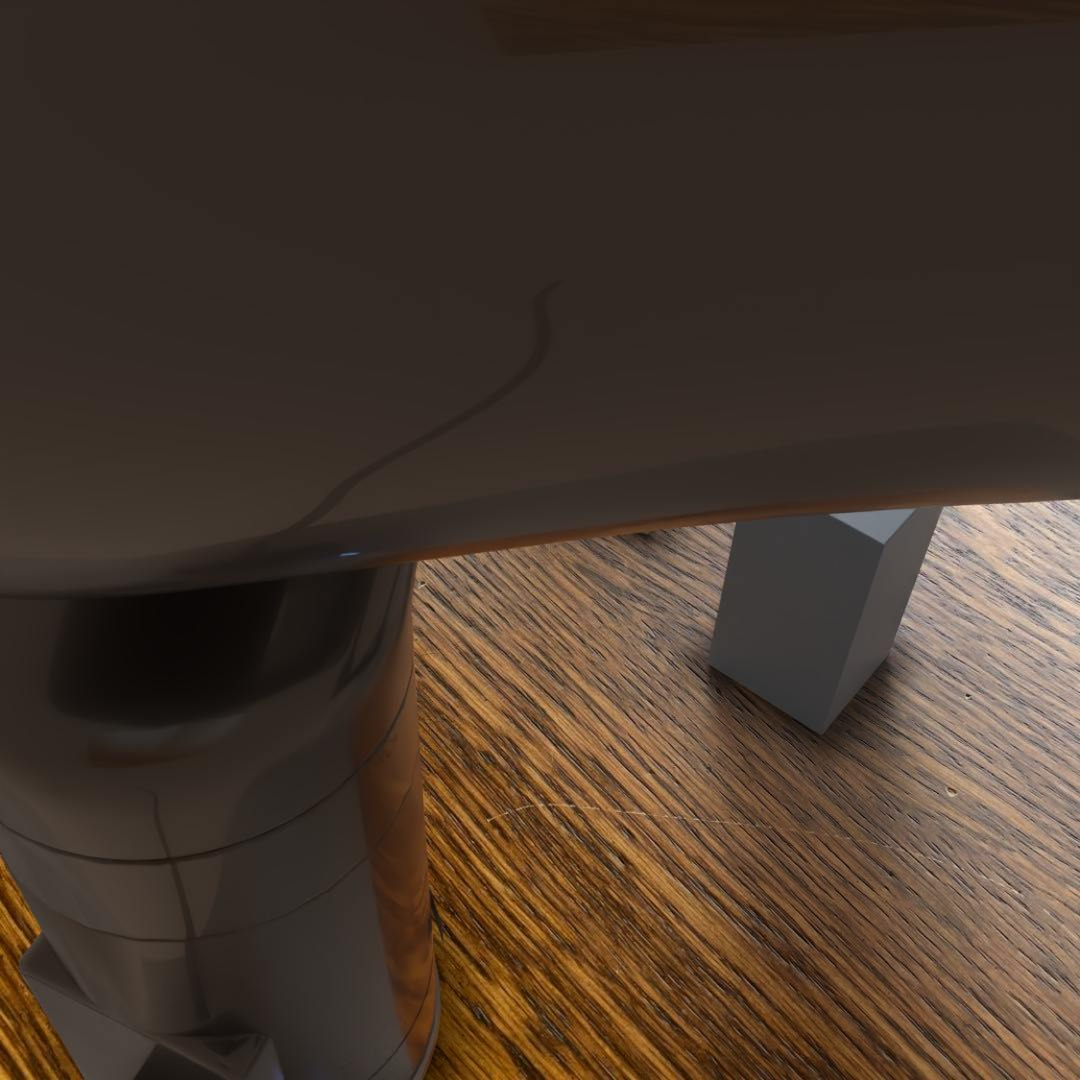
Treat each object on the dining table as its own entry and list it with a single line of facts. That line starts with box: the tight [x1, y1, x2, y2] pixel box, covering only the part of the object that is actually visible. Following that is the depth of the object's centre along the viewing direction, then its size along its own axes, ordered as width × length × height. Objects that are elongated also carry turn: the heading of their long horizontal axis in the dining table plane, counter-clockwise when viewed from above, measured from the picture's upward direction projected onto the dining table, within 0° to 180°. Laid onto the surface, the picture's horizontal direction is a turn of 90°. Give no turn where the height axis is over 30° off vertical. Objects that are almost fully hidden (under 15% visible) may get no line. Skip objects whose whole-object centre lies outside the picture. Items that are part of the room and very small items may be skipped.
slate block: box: [706, 507, 944, 736], centre depth 44 cm, size 5×5×10 cm
